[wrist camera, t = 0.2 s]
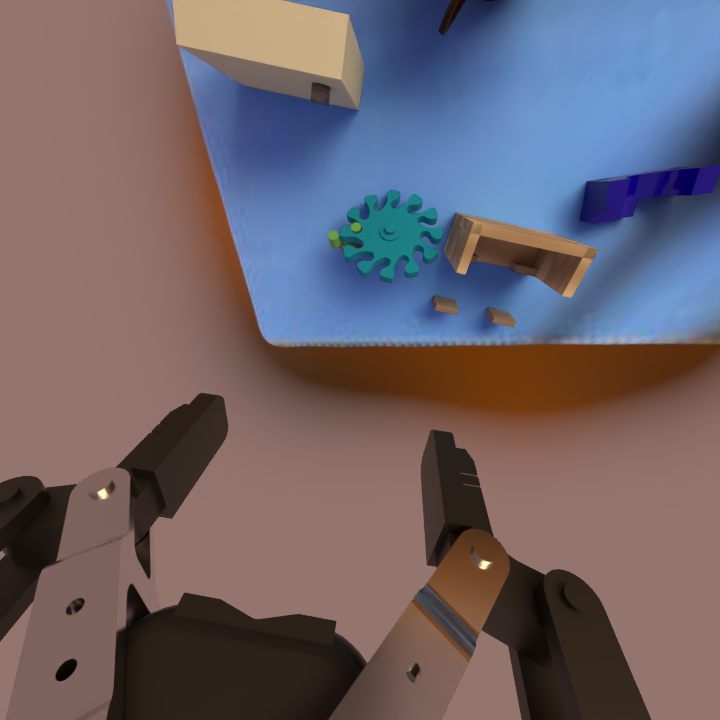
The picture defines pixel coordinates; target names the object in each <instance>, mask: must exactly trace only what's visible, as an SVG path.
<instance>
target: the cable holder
mask: <svg viewBox="0 0 720 720" xmlns="http://www.w3.org/2000/svg"><path fill="white" fill-rule="evenodd" d="M719 172H720V165H702V166H684V167H677V168H670V169H664V170H657V171H651V172H644V173H637V174H631V175H624V176H618V177H611V178H604V179H598V180H591V181H587V185H586V190H585V195H584V201H583V206H582V211H581V217H580V221H583V222H587V223H600V222H608V221H615V220H617V219H620V218H625V217H631V216H633V214H634V210H635V207H636V203H637V199H638V198H646V197H657V196H673V195H698V194H705V193H712V191H713V188H714V185H715V183H716V180H717V177H718V174H719Z"/></svg>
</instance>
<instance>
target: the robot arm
mask: <svg viewBox="0 0 720 720" xmlns="http://www.w3.org/2000/svg"><path fill="white" fill-rule="evenodd" d="M227 432H228V422H227V416H226V410H225V403H224V399H223V397H222V396H219V395H212V394H206V393H200V394H199V395H197V397H196V398H195V399H194V400H193V401H192V402H191V403H190V404H189V405H188V404H183V405H182V406H180V407H178V408H177V409H175V410H173V411H171V412H170V413H169V414H168V415H167V416H166V417H165V418H164V419H163V420H162V421H161V422H160V424H158V425H157V426H156V427H155V428H154V429H153V430H152V432H151V433H149V434H148V435H147V436H146V437H145V438H144V439H143V440H142V441H141V442H140V443H139V444H138V445H137V446H136V447H135V448H134V450H132V452H130V453H129V454H128V456H126V457H125V459H124V460H123V461H122V462H121V463H120V464H119V465H118V466H117V467H115V468H108V469H104V470H100V471H98V472H95V473H93V474H91V475H90V476H88V477H86V478H85V479H83V480H82V481H81V482H80V483H78V484H74V485H65V486H57V487H48V488H45V486H44V485H43V483H42V482H41V480H39V479H38V478H36V477H33V476H22V477H16V478H13V479H9V480H7V481H4V482H2V483H0V551H3V552H4V553H5V554H6V555H5V556H4V557H3V558H2V559H1V560H0V641H1V640H2V639H3V638H4V636H5V635H6V634H7V633H8V631H9V630H10V629H11V628H12V626H13V625H14V624H15V623H16V622H17V620H18V619H19V618H20V617H21V615H22V614H23V613H24V612H25V610H26V609H27V608H28V606H30V604H31V603H32V602H33V605H32V610H31V614H30V618H29V623H28V627H27V631H26V635H25V640H24V644H23V648H22V652H21V656H20V661H19V665H18V669H17V673H16V678H15V682H14V687H13V691H12V695H11V699H10V703H9V707H8V712H7V716H6V720H442V718H443V716H444V714H445V712H446V710H447V707H448V705H449V703H450V701H451V699H452V697H453V695H454V693H455V691H456V689H457V686H458V684H459V682H460V680H461V678H462V676H463V674H464V672H465V670H466V668H467V666H468V663H469V661H470V659H471V657H472V655H473V652H474V650H475V647H476V640H477V638H478V636H479V634H480V632H481V630H483V631H484V632H486V633H487V634H489V635H491V636H493V637H494V638H496V639H498V640H499V641H501V642H503V643H504V644H506V645H508V647H509V653H510V658H511V664H512V668H513V674H514V680H515V686H516V691H517V696H518V702H519V707H520V712H521V718H522V720H651V718H650V716H649V713H648V711H647V708H646V706H645V704H644V701H643V699H642V697H641V694H640V692H639V689H638V687H637V685H636V682H635V680H634V678H633V675H632V673H631V671H630V668H629V666H628V663H627V661H626V659H625V656H624V654H623V652H622V649H621V647H620V645H619V642H618V640H617V638H616V635H615V633H614V630H613V628H612V626H611V623H610V621H609V619H608V616H607V614H606V611H605V609H604V607H603V605H602V603H601V601H600V599H599V598H598V596H597V595H596V594H595V592H594V591H593V590H592V589H591V588H590V587H589V585H587V584H586V583H585V582H584V581H583V580H582V579H580V578H579V577H577V576H576V575H574V574H572V573H570V572H568V571H565V570H560V569H558V570H557V569H556V570H552V571H550V572H548V573H547V574H546V575H544V574H542V573H540V572H538V571H536V570H534V569H532V568H530V567H528V566H526V565H524V564H522V563H520V562H518V561H517V560H515V559H514V558H512V557H511V556H509V555H508V554H507V552H506V550H505V549H504V547H503V546H502V544H501V543H500V542H499V541H498V540H497V539H496V538H495V537H494V535H493V533H492V530H491V526H490V522H489V518H488V514H487V510H486V506H485V502H484V499H483V494H482V491H481V488H480V483H479V479H478V477H477V471H476V467H475V464H474V461H473V459H472V458H471V457H470V455H469V454H468V453H467V451H466V449H461V448H456V446H455V441H454V437H453V434H452V433H451V432H444V431H438V430H431V431H430V434H429V437H428V441H427V444H426V447H425V451H424V454H423V457H422V463H421V483H422V499H423V514H424V529H425V543H426V559H427V565H429V566H435V567H437V570H436V571H435V572H434V573H433V575H432V576H431V578H430V579H429V581H428V582H427V583H426V585H425V586H424V587H423V589H421V590H420V591H419V592H418V593H417V594H416V595H415V597H414V598H413V600H412V601H411V602H410V604H409V605H408V607H407V608H406V609H405V611H404V612H403V614H402V615H401V617H400V618H399V620H398V621H397V622H396V624H395V625H394V627H393V628H392V629H391V631H390V632H389V634H388V635H387V636H386V638H385V640H384V641H383V642H382V644H381V645H380V647H379V648H378V649H377V651H376V652H375V654H374V655H373V656H372V658H371V659H370V661H369V662H368V664H367V662H366V661H365V659H364V658H363V657H362V655H361V654H360V653H359V651H358V650H357V649H356V648H355V647H354V646H353V645H352V644H351V643H350V642H349V641H347V640H346V639H345V638H344V637H342V636H340V635H339V634H337V633H335V627H336V621H333V620H327V619H322V618H317V617H312V616H306V615H301V614H295V615H287V616H280V617H272V618H265V619H253V618H251V617H250V616H248V615H246V614H244V613H243V612H241V611H240V610H238V609H236V608H235V607H233V606H231V605H229V604H228V603H226V602H224V601H223V600H221V599H216V598H211V597H205V596H200V595H194V594H189V593H184V594H183V596H182V598H181V600H180V602H179V604H178V605H174V606H170V607H166V608H163V609H161V610H160V606H159V600H158V596H157V592H156V586H155V568H154V567H155V565H154V536H153V527H152V525H153V524H154V522H155V521H156V519H157V518H158V517H165V518H171V519H172V518H173V516H174V515H175V513H176V512H177V510H178V509H179V507H180V506H181V504H182V503H183V501H184V500H185V498H186V497H187V495H188V494H189V492H190V491H191V489H192V488H193V486H194V485H195V484H196V482H197V481H198V479H199V478H200V476H201V475H202V473H203V472H204V470H205V469H206V467H207V466H208V464H209V463H210V461H211V460H212V458H213V457H214V455H215V454H216V452H217V451H218V449H219V448H220V446H221V445H222V443H223V442H224V440H225V438H226V436H227Z"/></svg>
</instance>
